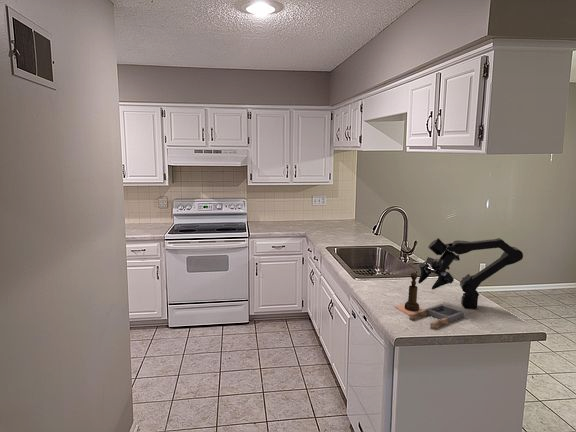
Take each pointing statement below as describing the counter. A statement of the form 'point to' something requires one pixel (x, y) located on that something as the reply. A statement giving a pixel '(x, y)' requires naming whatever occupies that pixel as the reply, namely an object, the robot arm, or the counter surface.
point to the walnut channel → (424, 313)
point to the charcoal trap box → (444, 312)
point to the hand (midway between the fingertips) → (425, 285)
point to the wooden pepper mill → (412, 295)
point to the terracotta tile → (402, 308)
